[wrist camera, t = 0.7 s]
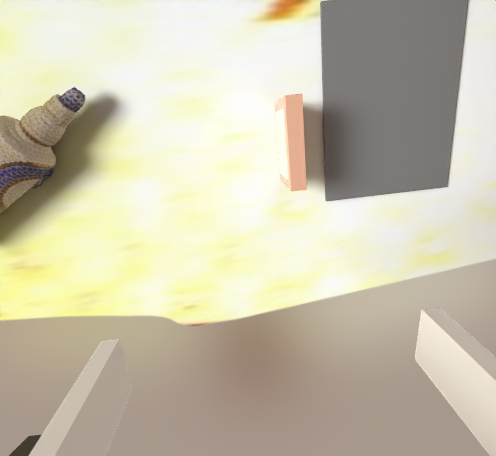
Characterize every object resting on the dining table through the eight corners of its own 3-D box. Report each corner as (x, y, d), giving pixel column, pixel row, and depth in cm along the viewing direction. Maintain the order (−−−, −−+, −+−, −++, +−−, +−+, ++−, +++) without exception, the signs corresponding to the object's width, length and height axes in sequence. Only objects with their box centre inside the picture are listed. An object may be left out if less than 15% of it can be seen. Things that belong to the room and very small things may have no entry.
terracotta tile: (273, 104, 34) (283, 95, 26) (287, 102, 34) (302, 93, 26) (279, 179, 37) (290, 191, 29) (292, 177, 37) (306, 189, 29)
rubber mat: (320, 3, 31) (321, 1, 30) (467, -15, 31) (470, -17, 30) (325, 200, 38) (326, 201, 37) (444, 186, 38) (447, 186, 37)
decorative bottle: (-21, 246, 38) (-73, 268, 32) (-71, 201, 36) (-137, 216, 30) (120, 126, 34) (93, 124, 28) (73, 69, 32) (32, 52, 26)
